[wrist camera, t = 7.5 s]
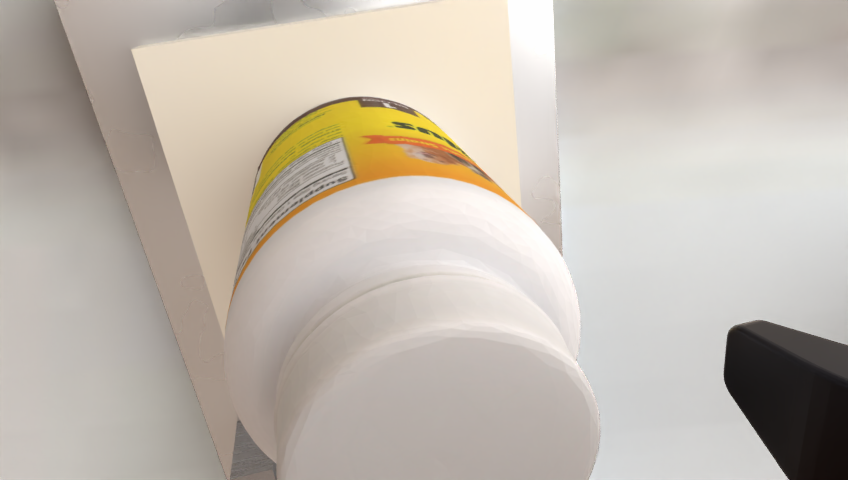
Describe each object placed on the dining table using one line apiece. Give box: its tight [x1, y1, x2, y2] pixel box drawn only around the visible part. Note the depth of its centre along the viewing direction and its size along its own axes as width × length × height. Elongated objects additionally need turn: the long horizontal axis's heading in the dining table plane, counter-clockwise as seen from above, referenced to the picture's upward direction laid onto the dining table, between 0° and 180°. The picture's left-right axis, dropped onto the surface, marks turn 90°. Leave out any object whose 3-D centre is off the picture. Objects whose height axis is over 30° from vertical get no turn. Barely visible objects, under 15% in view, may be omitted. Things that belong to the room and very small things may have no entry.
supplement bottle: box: [224, 96, 600, 480], centre depth 12 cm, size 6×6×10 cm
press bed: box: [131, 0, 522, 340], centre depth 17 cm, size 9×9×1 cm
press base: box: [54, 0, 563, 480], centre depth 19 cm, size 12×26×4 cm, turn 8°
